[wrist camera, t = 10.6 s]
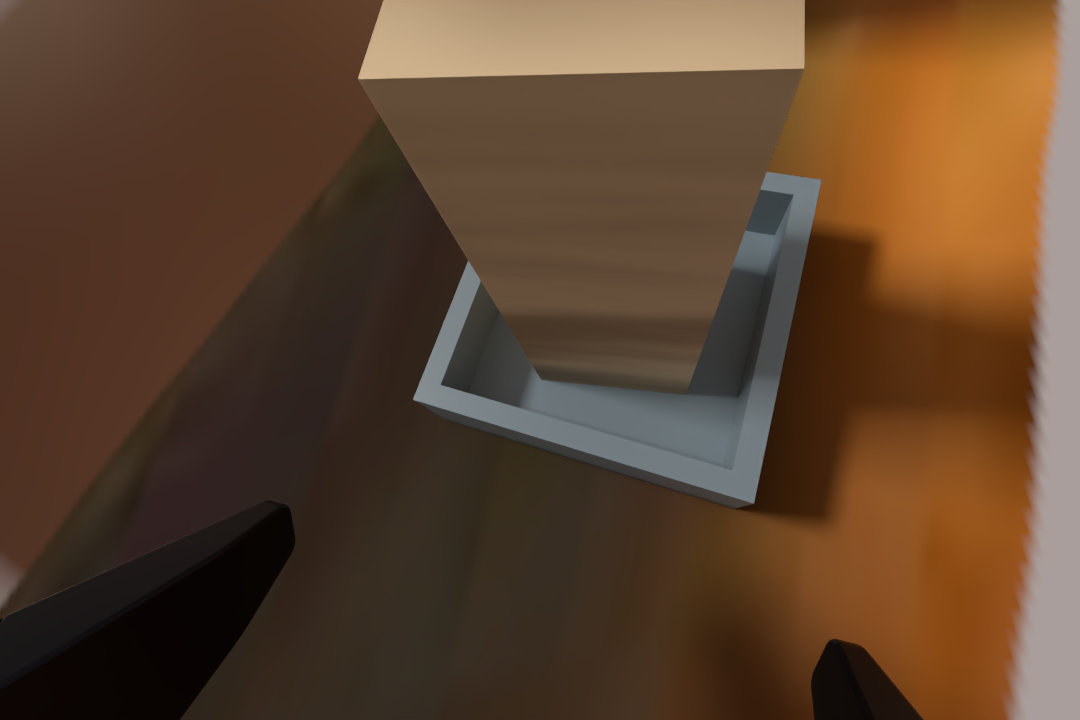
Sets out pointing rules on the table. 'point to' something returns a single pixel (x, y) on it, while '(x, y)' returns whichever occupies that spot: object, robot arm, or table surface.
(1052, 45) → the table surface
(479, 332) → the tray
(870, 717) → the robot arm
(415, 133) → the oak handle block
